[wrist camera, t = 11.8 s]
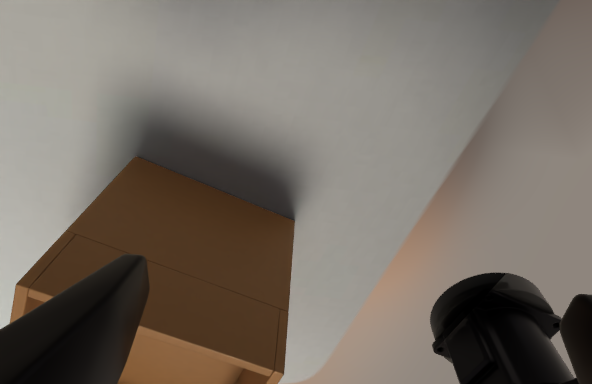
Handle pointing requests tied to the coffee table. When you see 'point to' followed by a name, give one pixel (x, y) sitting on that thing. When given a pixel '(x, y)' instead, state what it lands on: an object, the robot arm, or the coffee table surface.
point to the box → (183, 276)
